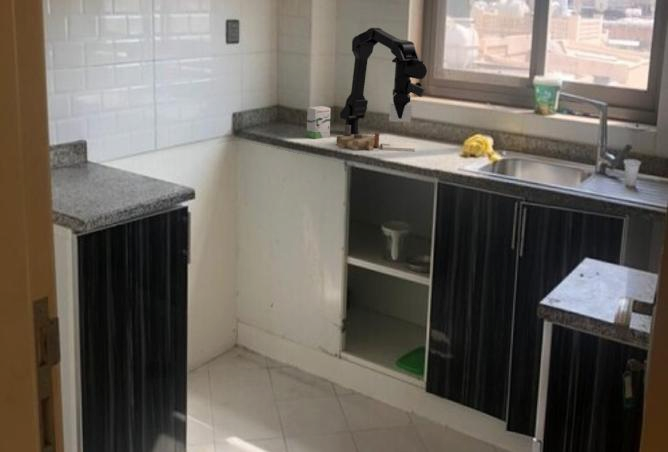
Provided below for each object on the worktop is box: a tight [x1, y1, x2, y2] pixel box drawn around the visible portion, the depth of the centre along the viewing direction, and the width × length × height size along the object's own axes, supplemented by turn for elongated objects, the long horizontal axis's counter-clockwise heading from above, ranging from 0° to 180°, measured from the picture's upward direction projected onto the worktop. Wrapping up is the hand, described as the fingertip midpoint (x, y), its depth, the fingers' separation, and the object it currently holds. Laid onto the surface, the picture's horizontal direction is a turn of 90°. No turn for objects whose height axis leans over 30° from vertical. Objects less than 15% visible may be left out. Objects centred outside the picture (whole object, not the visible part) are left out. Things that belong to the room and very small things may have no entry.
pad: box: [381, 140, 416, 152], centre depth 322 cm, size 11×12×1 cm
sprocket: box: [335, 124, 380, 151], centre depth 321 cm, size 16×16×7 cm
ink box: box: [306, 105, 331, 140], centre depth 335 cm, size 9×5×12 cm, turn 134°
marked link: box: [388, 103, 413, 123], centre depth 318 cm, size 4×8×6 cm, turn 87°
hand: (399, 117), depth 319 cm, fingers closed on marked link, 4 cm apart
